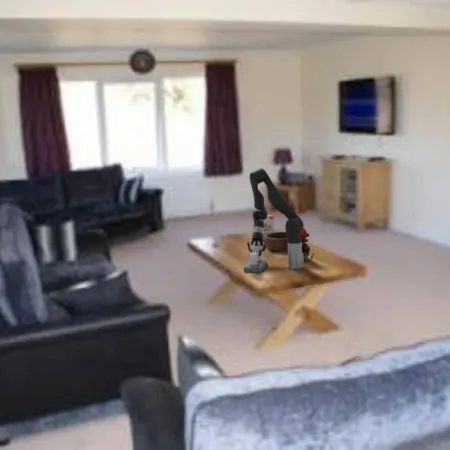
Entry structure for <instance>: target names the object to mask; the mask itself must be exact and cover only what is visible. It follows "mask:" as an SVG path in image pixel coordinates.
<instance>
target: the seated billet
mask: <svg viewBox="0 0 450 450" xmlns="http://www.w3.org/2000/svg"><path fill="white" fill-rule="evenodd" d="M249 259H250V267H258V256H257V253H251V252H250V253H249Z"/></svg>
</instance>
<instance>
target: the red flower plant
mask: <svg viewBox="0 0 450 450" xmlns="http://www.w3.org/2000/svg"><path fill="white" fill-rule="evenodd" d="M297 233H298V237H301V239H302V253H303V260H307V261H308V262H311V261H312V260H313V259H314V255H315V252H312V255H311V256H310V250H311V246H310V245H309V243H308V242H309V239H308V238H310V233H309V232H308V231H307V229H306V228H305V227H303V229H302V230H300V231H298V232H297ZM309 256H310V258H309Z"/></svg>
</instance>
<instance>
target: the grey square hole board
mask: <svg viewBox="0 0 450 450" xmlns="http://www.w3.org/2000/svg"><path fill="white" fill-rule="evenodd" d="M267 261H268V259H267V258H260V262H258V267H250V258H249V259H248V260H247V261H246V264H245V265H244V266H243V273H262V272H263V270H264V269H265V267H266V265H267Z"/></svg>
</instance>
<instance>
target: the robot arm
mask: <svg viewBox="0 0 450 450" xmlns="http://www.w3.org/2000/svg"><path fill="white" fill-rule="evenodd" d="M249 182H250V187H251V190H252V195H253V203H254V204H253V205H254V208H255V209H253V211H252V214H251V215H252V219H253V230H252V235H251V241H250V242H247V243H246V244H247V248H248V252H250V253H252V246H253V245H260V248H259V249H260V251H259V257H260V258H261V256H262V253H263V252H265V250H266V248H267V247H268V246H267V243H266V242H265V243H264V242H263V235H264V222H263V221H261V220H265V219H267V216H268V215H269V214H268V211H267V209H266V206H265V196H264V195H263V193H262V192H261V191H260V190H259V185H260V184H262V183H264V184H265V187H266V188H267V200H268V202H269V203H270V205H271V206H272V207H273V208H274V209H275V210H276V211H277V212H279V213H280V214H282V215H283V216H284V217H285V218H287V220H286V222H285V225H284V226H285V229H284V230H285V232H286V238H287V241H288V251H287V259H288V261H287V262H288V269H289V270H290V269H291V270H299V269H302V268H304V267H305V265H304V262H305V261H304V259H303V253H302V239H301V237H298V233H297V232H298V231H300V230H302V229H303V228H305V227H304V222H303V220H302V219H301V217H300V216H299V215H298V214H297V213H296V212H295V210H294V209H293V208H292V207H291V206H290V204H289V203H288V202H287V200H286V199H285V197H284V196H283V194H282V193H281V192H280V190H278V188H277V187H276V186H275V184H274V182H273V181H272V179H271V178H270V176H269V175H268V173H267V171H266V169H264V168H262V167H259V168H257V169H256V170H253V171H252V172H251V171H250V173H249ZM251 245H252V246H251Z"/></svg>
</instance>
